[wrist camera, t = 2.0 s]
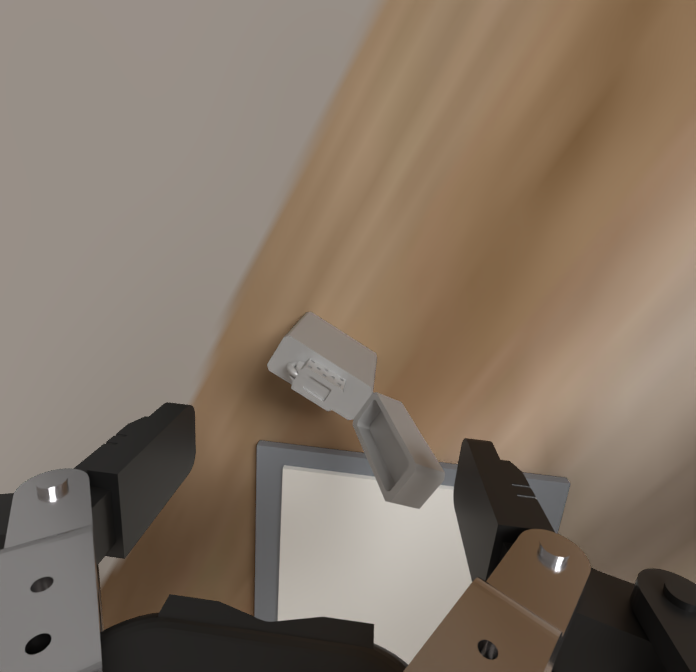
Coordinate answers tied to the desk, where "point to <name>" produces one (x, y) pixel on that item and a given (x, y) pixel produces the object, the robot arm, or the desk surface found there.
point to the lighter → (359, 406)
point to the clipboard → (361, 545)
